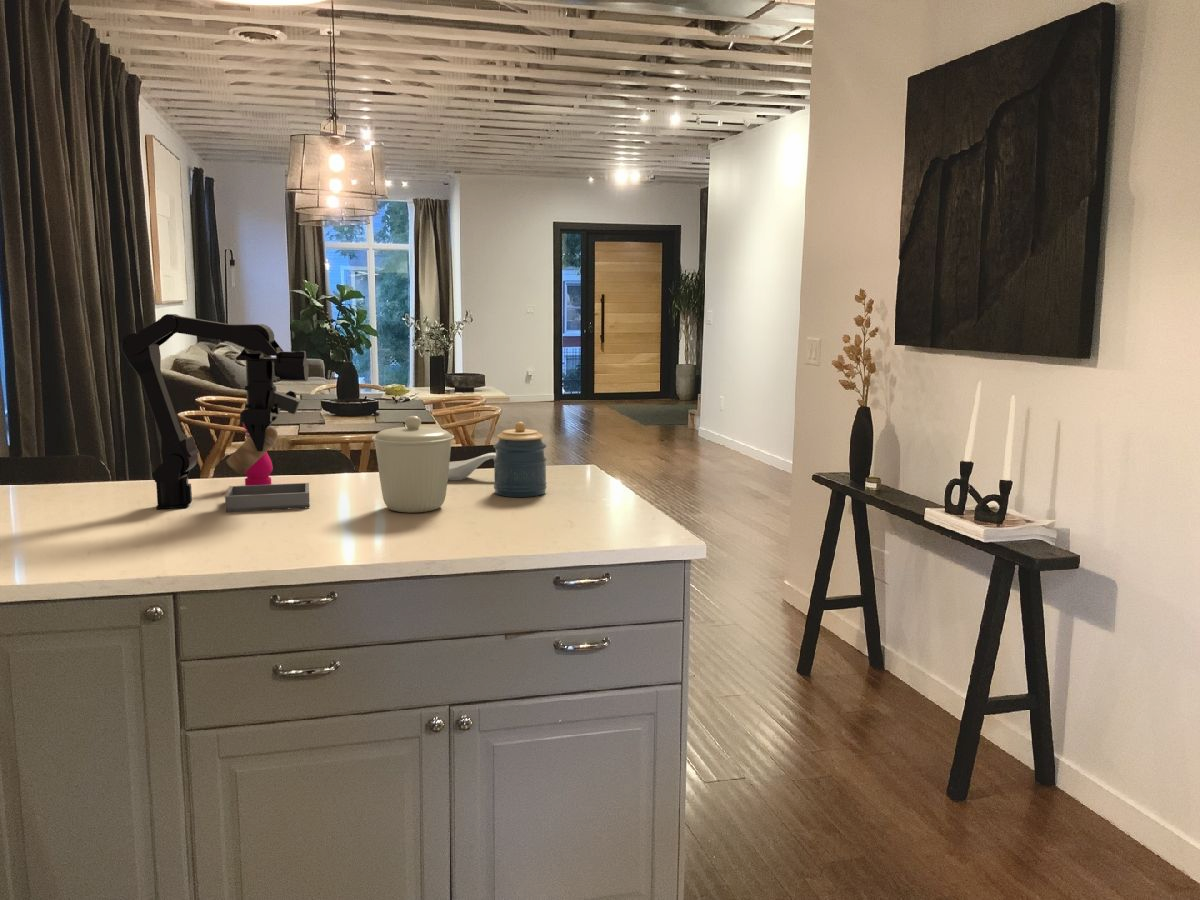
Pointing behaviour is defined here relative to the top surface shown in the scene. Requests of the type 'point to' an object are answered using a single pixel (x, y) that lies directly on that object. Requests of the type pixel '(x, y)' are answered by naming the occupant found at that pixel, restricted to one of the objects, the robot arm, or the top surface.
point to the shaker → (251, 452)
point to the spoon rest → (466, 466)
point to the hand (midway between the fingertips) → (261, 449)
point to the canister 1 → (413, 466)
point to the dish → (267, 497)
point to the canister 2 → (520, 463)
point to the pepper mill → (259, 469)
